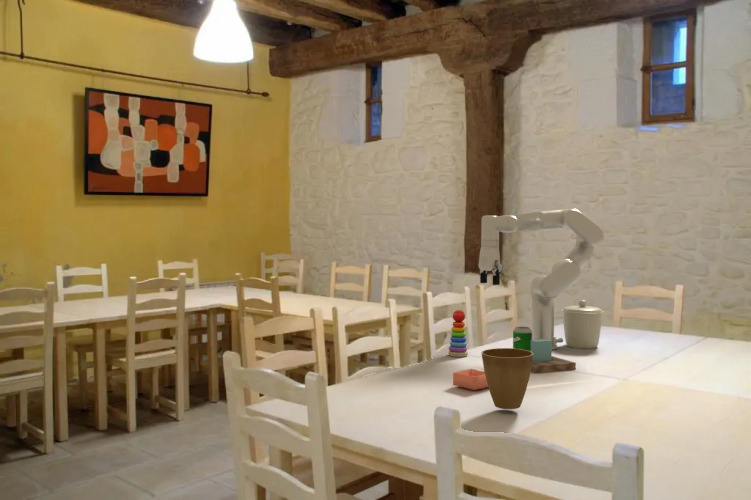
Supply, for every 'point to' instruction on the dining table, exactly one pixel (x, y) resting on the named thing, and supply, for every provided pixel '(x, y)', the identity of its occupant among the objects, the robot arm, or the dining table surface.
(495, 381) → the plant pot
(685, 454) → the dining table surface
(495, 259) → the robot arm
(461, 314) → the stacking toy
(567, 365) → the walnut board
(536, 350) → the teal block
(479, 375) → the pottery
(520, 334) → the soda can
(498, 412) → the dining table surface
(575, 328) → the canister
